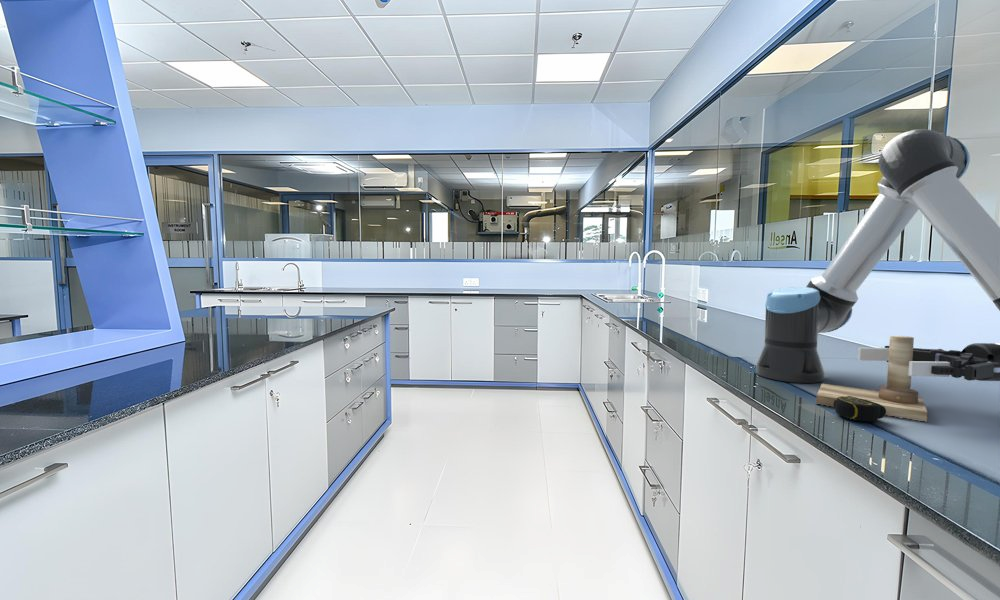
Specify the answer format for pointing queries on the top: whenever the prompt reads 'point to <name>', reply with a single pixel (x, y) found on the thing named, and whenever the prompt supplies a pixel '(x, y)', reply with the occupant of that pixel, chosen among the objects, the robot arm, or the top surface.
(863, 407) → the tape measure
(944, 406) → the top surface
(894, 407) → the board
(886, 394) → the wooden peg with base
